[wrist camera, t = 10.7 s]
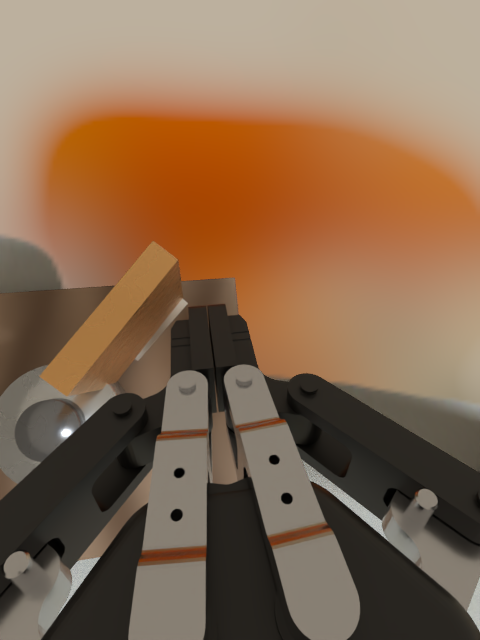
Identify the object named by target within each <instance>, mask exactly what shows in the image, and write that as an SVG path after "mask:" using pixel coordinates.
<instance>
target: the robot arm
mask: <svg viewBox="0 0 480 640" xmlns="http://www.w3.org/2000/svg"><path fill="white" fill-rule="evenodd" d="M207 307H208V317H207V309H206V305H205V306H193V307H188V313H189V319H188V320H177V321H176V322H175V323H174V325H173V327H172V328H171V376H170V380H169V381H168V383H167V386H166V387H165V388H164V389H163V390H161V391H160V392H158V393H156V394H154V395H152V396H149V397H147V398H144V399H143V398H141V397H140V396H139V395H137V394H134V393H122V394H119V395H116V396H114V397H112V398H111V399H109V400H108V401H107V402H106V403H105V404H103V405H102V406H101V407H100V408H99V409H98V410H97V411H96V412H95V413H94V414H93V415H92V416H91V417H89V418H88V419H87V420H86V421H85V422H84V423H83V424H82V425H81V426H80V427H79V428H78V429H77V430H75V431H74V432H73V433H72V434H71V435H70V436H69V437H68V438H67V439H66V440H65V441H64V442H63V443H61V444H60V445H59V446H58V447H57V448H56V449H55V450H54V451H53V452H52V453H51V454H50V455H48V456H47V457H46V458H45V459H44V460H43V461H42V462H41V463H40V464H39V465H38V466H37V467H36V468H34V469H33V470H32V471H31V472H30V473H29V474H28V475H27V476H26V477H25V478H24V479H23V480H22V481H20V482H19V483H18V484H17V485H16V486H15V487H14V488H13V489H12V490H11V491H10V492H9V493H8V494H6V495H5V496H4V497H3V498H2V499H1V500H0V640H480V632H479V630H478V628H477V626H476V625H475V623H474V621H473V620H472V618H471V617H470V615H469V614H468V613H467V609H468V607H469V604H470V601H471V599H472V596H473V593H474V591H475V588H476V585H477V583H478V580H479V577H480V473H478V472H477V471H475V470H473V469H472V468H470V467H469V466H467V465H465V464H464V463H462V462H460V461H459V460H457V459H455V458H454V457H452V456H450V455H449V454H447V453H445V452H444V451H442V450H440V449H439V448H437V447H435V446H434V445H432V444H430V443H429V442H427V441H425V440H424V439H422V438H420V437H419V436H417V435H415V434H414V433H412V432H410V431H409V430H407V429H405V428H404V427H402V426H400V425H399V424H397V423H395V422H394V421H392V420H390V419H389V418H387V417H385V416H384V415H382V414H380V413H379V412H377V411H375V410H374V409H372V408H370V407H369V406H367V405H365V404H364V403H362V402H360V401H359V400H357V399H355V398H354V397H352V396H351V395H349V394H347V393H346V392H344V391H342V390H341V389H339V388H337V387H336V386H334V385H332V384H331V383H329V382H327V381H326V380H324V379H322V378H321V377H319V376H316V375H313V374H299V375H296V376H294V377H293V378H292V379H291V380H290V381H289V382H284V381H278V380H274V379H271V378H269V377H267V376H265V375H264V374H263V373H262V372H261V371H260V370H259V368H258V365H257V362H256V358H255V354H254V350H253V346H252V342H251V339H250V334H249V331H248V327H247V323H246V321H245V320H244V319H243V318H242V317H241V316H240V315H230V316H228V315H227V310H226V305H225V304H215V305H207ZM208 321H209V325H208ZM215 386H216V391H215ZM216 394H217V402H218V410H219V412H224V411H225V418H226V431H227V436H228V440H229V444H230V449H231V453H232V457H233V462H234V466H235V471H236V475H237V482H234V483H232V484H217V483H213V472H212V428H213V417H212V413H217V406H216ZM301 459H303V460H304V461H305V462H306V463H308V464H309V465H310V466H312V467H313V468H314V469H316V470H317V471H318V472H319V473H321V474H322V475H323V476H325V477H326V478H327V479H329V480H330V481H331V482H332V483H334V484H335V485H336V486H338V487H339V488H340V489H342V490H343V491H344V492H345V493H347V494H348V495H349V496H351V497H352V498H353V499H355V500H356V501H357V502H358V503H360V504H361V505H362V506H364V507H365V508H366V509H367V510H369V511H370V512H371V513H373V514H374V515H375V516H377V517H378V518H379V519H380V520H382V527H383V531H384V534H385V536H386V538H387V540H388V541H387V540H386V539H385V538H384V537H383V536H381V535H380V534H379V533H378V532H377V531H375V530H374V529H373V528H372V527H371V526H370V525H368V524H367V523H366V522H365V521H364V520H362V519H361V518H360V517H359V516H358V515H356V514H355V513H354V512H353V511H352V510H351V509H349V508H348V507H347V506H346V505H345V504H343V503H342V502H341V501H340V500H339V499H337V498H336V497H335V496H334V495H333V494H331V493H330V492H329V491H328V490H326V489H325V488H323V487H321V486H320V485H318V484H316V483H314V482H311V481H310V480H309V478H308V475H307V473H306V470H305V467H304V465H303V462H302V460H301ZM151 469H152V476H151V484H150V492H149V500H148V503H147V504H145V505H144V506H143V507H141V508H140V509H139V510H138V511H136V512H135V513H134V514H133V515H132V516H131V517H130V519H129V520H128V521H127V522H126V523H125V525H124V526H123V527H122V529H121V530H120V531H119V533H118V534H117V535H116V537H115V538H114V540H113V541H112V542H111V544H110V545H109V546H108V548H107V549H106V551H105V552H104V553H103V555H102V556H101V557H100V559H99V560H98V562H97V563H96V564H95V566H94V567H93V568H92V570H91V571H90V573H89V574H88V575H87V577H86V578H85V579H84V581H83V582H82V584H81V585H80V586H79V588H78V589H77V590H76V592H75V593H74V595H73V596H72V597H71V599H70V600H69V601H68V603H67V604H66V606H65V607H64V608H63V610H62V611H61V612H60V614H59V615H58V613H59V611H60V610H61V608H62V606H63V605H64V603H65V602H66V600H67V598H68V596H69V593H70V590H71V585H72V575H71V572H70V569H71V568H72V567H73V566H74V564H75V563H76V562H77V561H78V559H79V558H80V557H81V556H82V554H83V553H84V552H85V551H86V550H87V548H88V547H89V546H90V545H91V543H92V542H93V541H94V540H95V538H96V537H97V536H98V535H99V533H100V532H101V531H102V530H103V529H104V527H105V526H106V525H107V524H108V522H109V521H110V520H111V519H112V517H113V516H114V515H115V514H116V512H117V511H118V510H119V509H120V508H121V506H122V505H123V504H124V503H125V501H126V500H127V499H128V498H129V496H130V495H131V494H132V493H133V492H134V490H135V489H136V488H137V487H138V485H139V484H140V483H141V482H142V480H143V479H144V478H145V477H146V475H147V474H148V473H149V472H150V471H151ZM57 616H58V617H57Z"/></svg>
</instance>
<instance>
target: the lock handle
mask: <svg viewBox="0 0 480 640" xmlns="http://www.w3.org/2000/svg"><path fill="white" fill-rule="evenodd" d="M182 298H183V292H182V284H181V277H180V269H179V262H178V259H177V258H175V257H174V256H173V255H171V254H170V253H169V252H167V251H166V250H165V249H163V248H162V247H161V246H159V245H158V244H157V243H155V242H154V241H152V243H151V244H150V245H149V246H148V247H147V249H146V250H145V251H144V252H143V253H142V255H141V256H140V257H139V258H138V259H137V261H136V262H135V263H134V264H133V265H132V267H131V268H130V269H129V270H128V271H127V272H126V274H125V275H124V276H123V277H122V278H121V280H120V281H119V282H118V283H117V284H116V285H115V287H114V288H113V289H112V290H111V291H110V293H109V294H108V295H107V296H106V297H105V299H104V300H103V301H102V302H101V303H100V305H99V306H98V307H97V308H96V309H95V310H94V312H93V313H92V314H91V315H90V316H89V318H88V319H87V320H86V321H85V322H84V324H83V325H82V326H81V327H80V328H79V330H78V331H77V332H76V333H75V334H74V335H73V337H72V338H71V339H70V340H69V341H68V343H67V344H66V345H65V346H64V347H63V349H62V350H61V351H60V352H59V353H58V355H57V356H56V357H55V358H54V359H53V360H52V362H51V363H50V364H49V365H46V366H42V367H39V368H36V369H33V370H31V371H29V372H27V373H25V374H24V375H22V376H20V377H19V378H18V379H16V380H15V381H14V382H13V383H12V384H11V385H10V386H9V387H8V388H7V389H6V390H5V391H4V393H3V394H2V395H1V397H0V469H1V470H2V471H3V472H4V473H5V474H6V476H8V477H9V478H10V479H11V480H12V481H14V482H15V483H17V484H18V483H19V482H20V481H22V480H23V479H24V478H25V477H26V476H27V475H28V474H29V473H30V472H31V471H32V470H33V469H34V468H36V467H37V466H38V465H39V464H40V463H41V462H42V461H43V460H44V459H45V458H46V457H47V456H48V455H50V454H51V453H52V452H53V451H54V450H55V449H56V448H57V447H58V446H59V445H60V444H61V443H63V442H64V441H65V440H66V439H67V438H68V437H69V436H70V435H71V434H72V433H73V432H74V431H75V430H77V429H78V428H79V427H80V426H81V425H82V424H83V423H84V422H85V421H86V420H87V419H88V418H89V417H91V416H92V415H93V414H94V413H95V412H96V411H97V410H98V409H99V408H100V407H101V406H102V405H103V404H105V403H106V402H107V401H108V400H109V399H111V398H112V397H114V396H116V395H119V394H122V393H126V392H125V390H124V388H123V387H122V385H121V384H120V383H119V382H118V379H119V378H120V377H121V376H122V374H123V373H124V372H125V371H126V369H127V368H128V367H129V365H130V364H131V363H132V362H133V360H134V359H135V358H136V357H137V355H138V354H139V353H140V352H141V350H142V349H143V348H144V346H145V345H146V344H147V343H148V341H149V340H150V339H151V338H152V336H153V335H154V334H155V333H156V331H157V330H158V329H159V328H160V326H161V325H162V324H163V322H164V321H165V320H166V319H167V317H168V316H169V315H170V314H171V312H172V311H173V310H174V309H175V307H176V306H177V305H178V303H179V302H180V301H181V300H182Z"/></svg>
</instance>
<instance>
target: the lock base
mask: <svg viewBox="0 0 480 640" xmlns="http://www.w3.org/2000/svg"><path fill="white" fill-rule="evenodd" d="M181 284H182V292H183V298H182V300H181V301H180V302H179V303H178V305H177V306H176V307H175V309H174V310H173V311H172V312H171V314H170V315H169V316H168V317H167V319H166V320H165V321H164V322H163V324H162V325H161V326H160V328H159V329H158V330H157V331H156V333H155V334H154V335H153V336H152V338H151V339H150V340H149V341H148V343H147V344H146V345H145V346H144V348H143V349H142V350H141V352H140V353H139V354H138V355H137V357H136V358H135V359H134V360H133V362H132V363H131V364H130V365H129V367H128V368H127V369H126V371H125V372H124V373H123V374H122V376H121V377H120V378H119V379H118V382H119V383H120V384H121V385H122V387H123V388H124V390H125V392H126V393H134V394H137V395H139V396H140V397H141V398H143V399H144V398H147V397H149V396H152V395H154V394H156V393H158V392H160V391H161V390H163V389H164V388H165V387H166V386H167V383H168V381H169V380H170V376H171V328H172V327H173V325H174V323H175V322H176V321H177V320H188V319H189V313H188V307H193V306H205V305H206V309H207V317H208V307H207V305H215V304H225V305H226V310H227V315H228V316H230V315H239V314H238V304H237V294H236V284H235V278H222V279H208V280H193V281H181ZM114 287H115V286H104V287H89V288H75V289H59V290H44V291H29V292H14V293H0V397H1V395H2V394H3V393H4V391H5V390H6V389H7V388H8V387H9V386H10V385H11V384H12V383H13V382H14V381H15V380H16V379H18V378H19V377H20V376H22V375H24V374H25V373H27V372H29V371H31V370H33V369H36V368H39V367H42V366H46V365H49V364H50V363H51V362H52V360H53V359H54V358H55V357H56V356H57V355H58V353H59V352H60V351H61V350H62V349H63V347H64V346H65V345H66V344H67V343H68V341H69V340H70V339H71V338H72V337H73V335H74V334H75V333H76V332H77V331H78V330H79V328H80V327H81V326H82V325H83V324H84V322H85V321H86V320H87V319H88V318H89V316H90V315H91V314H92V313H93V312H94V310H95V309H96V308H97V307H98V306H99V305H100V303H101V302H102V301H103V300H104V299H105V297H106V296H107V295H108V294H109V293H110V291H111V290H112V289H113V288H114ZM208 325H209V321H208ZM215 391H216V386H215ZM216 406H217V413H212V417H213V428H212V472H213V483H217V484H232V483H234V482H237V475H236V471H235V466H234V462H233V457H232V453H231V449H230V444H229V440H228V436H227V431H226V418H225V411H224V412H219V410H218V402H217V394H216ZM151 476H152V469H151V471H150V472H149V473H148V474H147V475H146V477H145V478H144V479H143V480H142V482H141V483H140V484H139V485H138V487H137V488H136V489H135V490H134V492H133V493H132V494H131V495H130V496H129V498H128V499H127V500H126V501H125V503H124V504H123V505H122V506H121V508H120V509H119V510H118V511H117V512H116V514H115V515H114V516H113V517H112V519H111V520H110V521H109V522H108V524H107V525H106V526H105V527H104V529H103V530H102V531H101V532H100V533H99V535H98V536H97V537H96V538H95V540H94V541H93V542H92V543H91V545H90V546H89V547H88V548H87V550H86V551H85V552H84V553H83V554H82V556H81V557H80V558H79V559H78V560H84V559H90V558H96V557H101V556H102V555H103V553H104V552H105V551H106V549H107V548H108V546H109V545H110V544H111V542H112V541H113V540H114V538H115V537H116V535H117V534H118V533H119V531H120V530H121V529H122V527H123V526H124V525H125V523H126V522H127V521H128V520H129V519H130V517H131V516H132V515H133V514H134V513H135V512H136V511H138V510H139V509H140V508H141V507H143V506H144V505H145V504H147V503H148V500H149V492H150V484H151ZM16 485H17V483H15V482H14V481H12V480H11V479H10V478H9V477H8V476H6V474H5V473H4V472H3V471H2V470H1V469H0V500H1V499H2V498H3V497H4V496H5V495H6V494H8V493H9V492H10V491H11V490H12V489H13V488H14V487H15V486H16Z"/></svg>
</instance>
